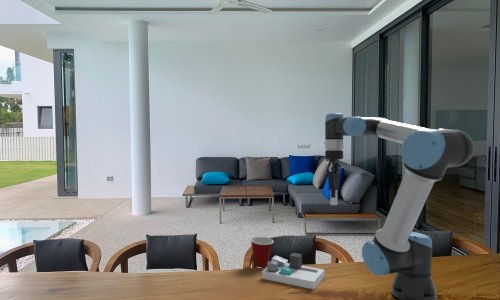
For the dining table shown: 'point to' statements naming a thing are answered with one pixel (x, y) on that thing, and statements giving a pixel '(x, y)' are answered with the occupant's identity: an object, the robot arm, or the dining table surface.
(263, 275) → the panel
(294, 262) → the slider knob
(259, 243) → the plastic cup
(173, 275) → the dining table surface
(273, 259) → the white block with nub
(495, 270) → the dining table surface
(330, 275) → the dining table surface
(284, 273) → the teal button
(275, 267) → the grey button
